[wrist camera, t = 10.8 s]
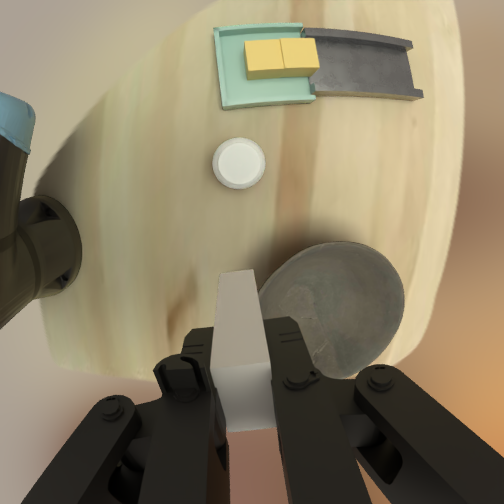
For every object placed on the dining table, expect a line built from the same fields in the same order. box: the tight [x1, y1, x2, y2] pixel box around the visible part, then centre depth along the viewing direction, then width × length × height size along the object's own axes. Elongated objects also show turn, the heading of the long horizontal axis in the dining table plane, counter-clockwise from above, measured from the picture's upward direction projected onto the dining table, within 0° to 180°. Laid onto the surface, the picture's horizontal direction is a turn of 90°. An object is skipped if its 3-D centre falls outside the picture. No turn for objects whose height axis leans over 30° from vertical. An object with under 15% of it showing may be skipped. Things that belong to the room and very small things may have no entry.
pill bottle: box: [212, 137, 266, 189], centre depth 30 cm, size 5×5×10 cm
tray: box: [213, 23, 316, 110], centre depth 30 cm, size 11×11×2 cm
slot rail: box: [300, 28, 424, 101], centre depth 30 cm, size 16×9×3 cm, turn 97°
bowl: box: [258, 241, 404, 379], centre depth 36 cm, size 19×19×10 cm
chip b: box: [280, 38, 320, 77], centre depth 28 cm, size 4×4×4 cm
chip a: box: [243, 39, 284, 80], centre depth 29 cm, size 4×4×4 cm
